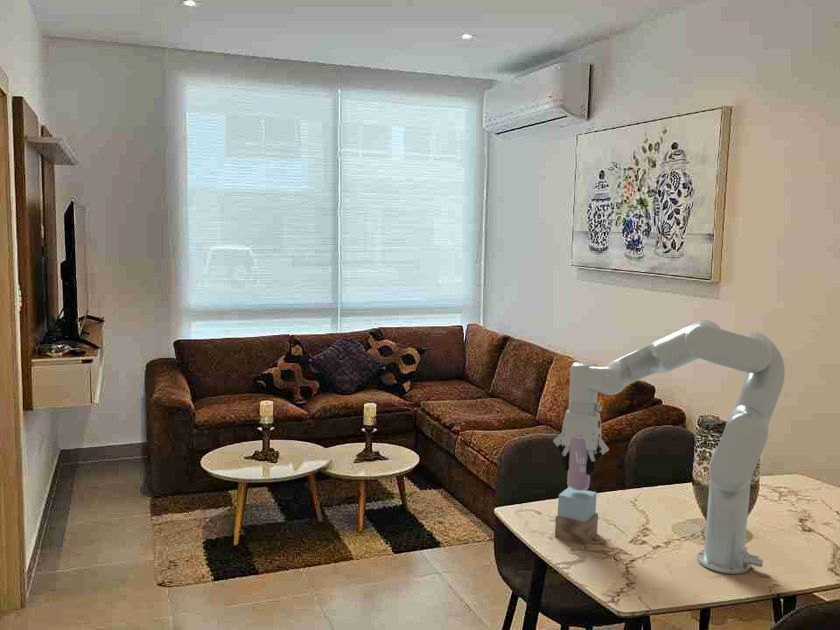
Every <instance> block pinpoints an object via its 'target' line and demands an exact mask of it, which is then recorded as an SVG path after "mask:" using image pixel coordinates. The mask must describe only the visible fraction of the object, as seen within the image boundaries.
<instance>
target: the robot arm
mask: <svg viewBox="0 0 840 630" xmlns="http://www.w3.org/2000/svg"><path fill="white" fill-rule="evenodd" d="M700 359H701V360H702V361H706V362H710V363H713V364H715V365H719V366H721V367H726V368H729V369H733V370H736V371H739V372H744V373H746V376H745V380H744V382H743V384H742V386H741V390H740V393H739V396H738V398H737V401H736V402H735V405H734V407H733V409H732V411H731V412H730V414H729V415H728V417H727V420H726V424H725V427H724V429H723V432H722V435H721V438H720V440H719V442H718V444H717V446H716V447H715V448H714V450H713V452H712V454H711V457H710V463H709V465H708V475H709V478H710V479H709V487H708V497H707V498H708V500H707V501H708V502H707V509H706V511H707V513H706V521H705V522H706V523H705V524H706V525H705V537H704V549H702V550H699V551H698V553H697V558H696V559H697V561H698V562H699V564H701V565H702V566H703V567H705V568H707V569H709V570H711V571H715V572H717V573H718V572H719V573H723V574H730V575H732V574H733V575H738V574H745V573H746V572H748V571H749V570H750V568H751V565H752V566H754V567H757V568H758V567H759V568H763V566H764V565H763V564H764V559H762V558H760V556H759V555H757V554H750V552H748V546H746V539H747V538H746V537H747V524H748V515H749V504H750V492H751V484H752V483H751V482H752V477H753V475H754V472H755V470H756V467H757V465H758V463H759V461H760V458H761V457H762V454H763V452H764V449H765V447H766V444H767V441H768V437H769V432H770V431H769V430H770V429H769V428H770V427H769V426H770V420H771V418H772V415H773V413H774V411H775V409H776V406H777V404H778V400H779V398H780V395H781V393H782V390H783V387H784V382H785V372H786V368H785V364H784V359H783V356H782V354H781V352H780V350H779V349H778V347H777V346H776V344H775V343H774V342H773V341H772V340H771V339H770V338H768V337H767V336H766V335H765V334H762V333H759V332H755V331H753V332H747V333H745V334H740V333H735V332H732V331H728V330H725V329H722V328H721V327H720V326H719V325H718V324H717V323H715V322H714V321H712V320H708V319H706V320H705V319H704V320H700V321H697V322H695V323H692V324H690V325H688V326H686V327H683V328H681V329H679V330H677V331H675V332H672V333H669V335H666V336H664V337H662V338H659V339H657V340H655V341H653V342H651V343H649V344H647V345H646V346H644V347H641V348H639V349H637V350H635V351H632V352H631V353H628V354H626V355H624V356H622V357H620V358H618V359H615V360H613V361H611V362H609V363H608V364H606V365H605V366H598V365H597V364H596V363H595V362H592V361H575V362H573V363H571V366H570V370H569V371H570V372H569V373H570V375H569V376H570V377H569V394H568V395H569V396H568V408H567V410H565V414H564V418H563V422H562V423H563V424H562V430H561V433H560V434H558V435H557V436H556V437H555V438H554V439H553V440H552V443H554V444H555V446H556V447H557V448H558V450H559V452H561V455H562V457H563V463H562V465H563V467H564V468H563V469H564V471H566V472H568V460H569V447H570V444H571V439H572V437H573V435H574V436H578V437H584V438H583V439H584V440H585V445H586V450H588V453H589V456H590V461H589V462H588V475H590V476H592V475H593V474H594V473H596V470H597V460H598V459H599V458H601V457H602V456H603V455H604V454H606V453H607V452H609V450H610V449H609V447H608V446H607V444H606V443H605V442H604V441H603V439H602V421H601V420H602V419H601V415H600V413H599V412H602V411H603V406H602V405H599V402H598V393H600V394H604V395H608V396H610V395H611V396H613V395H617V394H619V393H621V392H622V391H623V390H624V389H625V388H626V387H627V386H628V385H631V384H633V383H635V382H637V381H640V380H642V379H644V378H647V377H649V376H652V375H654V374H659V373H660V374H661V373H663V374H664V373H669V372H671V371H674V370H676V369H678V368H680V367H682V366H685V365H687V364H689V363H692V362H694V361H696V360H700ZM598 448H600V449H601V450H599V451H598V452H597V449H598Z"/></svg>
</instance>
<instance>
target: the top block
mask: <svg viewBox="0 0 840 630" xmlns="http://www.w3.org/2000/svg"><path fill="white" fill-rule="evenodd" d="M597 494H598V493H597V491H592V490H588V489H586V490H574V489H571V488H569V486H567V488H566V489H564V490H563V491H562V492H560V493H559V494H558V502H557V503H558V505H557V515H558V516H560V517H564V518H569V519H573V520H577V521H581V522H585V523H586V522H587V521H588V520H589V519H590V518H591V517H592V516H593V515H594V514H595V513H597V512H596V511H597V510H596V508H597V496H598V495H597Z"/></svg>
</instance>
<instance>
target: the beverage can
mask: <svg viewBox="0 0 840 630" xmlns="http://www.w3.org/2000/svg"><path fill="white" fill-rule="evenodd" d="M583 438H584V437H578V436H574V435H573V437H572V439H571V444H570V447H569V460H568V470H567V481H566V484H567V487H569V488H571V489H574V490H588V489H589V488H590V483H591V482H590V481H591V480H590V479H591V475H588V462H589V461H590V456H589V453H588V450H586V445H585V440H584V439H583Z"/></svg>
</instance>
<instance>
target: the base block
mask: <svg viewBox="0 0 840 630" xmlns="http://www.w3.org/2000/svg"><path fill="white" fill-rule="evenodd" d="M598 522H599V513H598V512H595V514H594V515H593V516H592V517H591V518H590V519H589V520H588V521H587V522H586V523H585V522H581V521H577V520H573V519H569V518H564V517H560V516H558V514H557V515H556V516H555V525H554V526H555V527H554V531H555V532H554V537H555V538H558V539H562V540H566V541H569V542H570V541H571V542H575V543H579V544H583V545H585V546H586V545H588V544H589V543H590V542H591V540H593V538H594V537H595V536H596V535H597V534H598V525H599V523H598Z"/></svg>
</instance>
